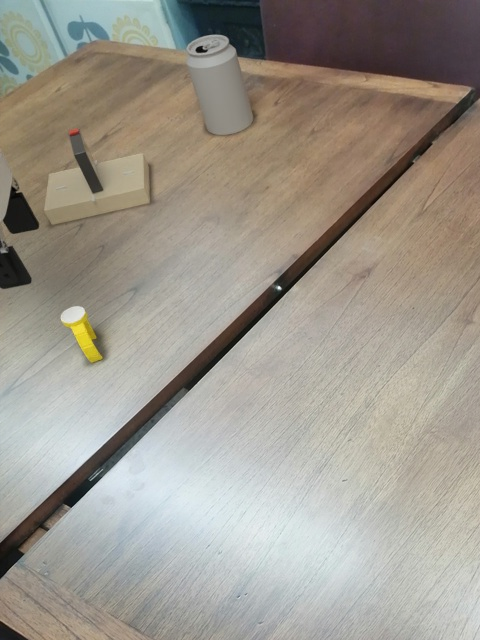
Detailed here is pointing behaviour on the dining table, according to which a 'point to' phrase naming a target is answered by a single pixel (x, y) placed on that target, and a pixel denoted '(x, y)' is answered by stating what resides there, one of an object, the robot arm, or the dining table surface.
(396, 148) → the dining table surface
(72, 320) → the watch
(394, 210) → the dining table surface
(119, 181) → the tan rectangular block
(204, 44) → the can
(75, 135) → the grey block
